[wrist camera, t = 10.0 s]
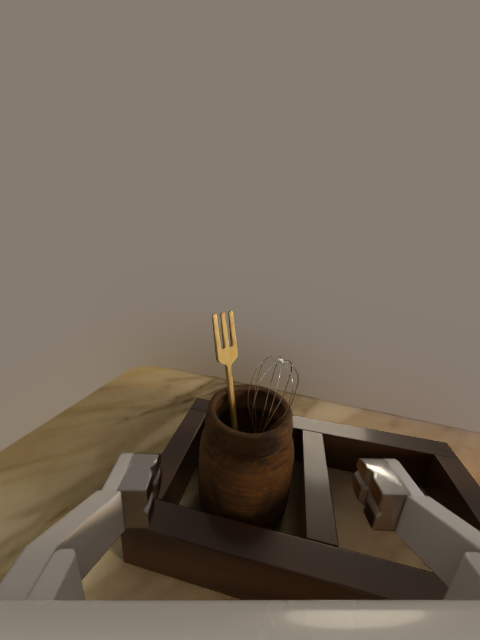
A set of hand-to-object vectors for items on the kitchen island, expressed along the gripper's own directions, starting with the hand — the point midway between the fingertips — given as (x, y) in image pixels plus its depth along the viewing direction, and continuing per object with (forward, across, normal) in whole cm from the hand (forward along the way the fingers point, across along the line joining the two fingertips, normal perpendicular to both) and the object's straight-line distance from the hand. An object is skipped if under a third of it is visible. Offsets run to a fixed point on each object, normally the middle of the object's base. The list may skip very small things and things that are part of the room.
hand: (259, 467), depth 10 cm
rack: (+4, -4, +8) cm, 9 cm away
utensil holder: (+5, 0, +8) cm, 9 cm away
